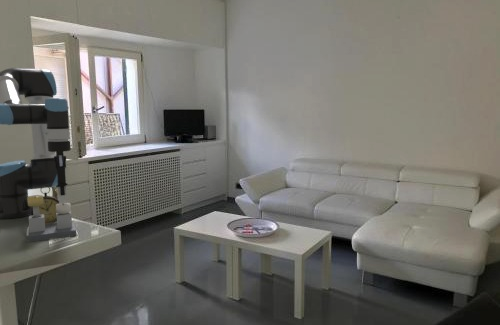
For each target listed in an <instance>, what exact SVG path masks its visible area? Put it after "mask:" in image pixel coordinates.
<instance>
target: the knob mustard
mask: <svg viewBox="0 0 500 325" xmlns="http://www.w3.org/2000/svg"><path fill="white" fill-rule="evenodd" d="M43 196H44V195H41V194H36V195H28V197H27V200H28V206H33V216H34V218H38V217H40V213H39V206H40V205H43Z"/></svg>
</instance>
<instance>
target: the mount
mask: <svg viewBox="0 0 500 325" xmlns="http://www.w3.org/2000/svg"><path fill="white" fill-rule="evenodd" d="M56 218H57V221H56V222H55V223H51V224H45V217H44V214H42V215H40V217H38V218H34V216H32V215H28V226H27V228H26V236H25V238H26V241H25V242H26V243H30V242H31V243H32V242H38V241H44V240H45V241H46V240H51V239H61V238H66V237H74V236H75V237H76V236H77V228H76V225H75V221H74V220H73V218H72V211H71V212H69V213H67V214H65V215H61V214H58V213H56Z"/></svg>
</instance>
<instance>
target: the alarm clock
mask: <svg viewBox="0 0 500 325" xmlns="http://www.w3.org/2000/svg"><path fill="white" fill-rule="evenodd" d="M43 187H45V186H43ZM43 187H42V188H40V192H41V194H43V195H42V196H43V205H40V206H39V213H40V215H42V214H44V217H45V224H51V223H57V218H56V204H59V198H57V197H54V196H52V195H51V196H50V195H47V194H49V193H50V192H51V188H50V187H48V186H46V187H48V192H43V191H42V189H44V188H43ZM31 213H32V214H31V216H33V206H32V209H31Z"/></svg>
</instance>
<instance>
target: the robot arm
mask: <svg viewBox="0 0 500 325" xmlns="http://www.w3.org/2000/svg"><path fill="white" fill-rule="evenodd" d="M57 92H58V91H57V83H56V79H55V76H54V74H53V73H52V71H51V70H49V69H42V68H18V67H10V68H5V69H3V70H1V71H0V125H7V126H12V125H13V126H14V125H30V128H31V137H32V138H31V139H32V146H33V148H32V149H33V156H32V157H31V159H30V162H29V163H27V162H26V161H25V160H14V161H8V162H5V163H4V162H3V163H0V219H1V220H6V219H17V218H23V217H29V216H31V215H32V213H31V209H32V206H28V200H27V197H29V191H28V190H38V189H41V188H42V187H43V186H45V187H43V188H42V189H46V188H48V187H49V188H50V189H51V188H55V187H56V188H57V194H58V195H57V196H58V200H59V204H65V203H68V195H67V186H68V182H67V180H66V179H67V178H66V177H67V176H66V168H67V163H66V161H67V155H64V152H69V151H71V150H72V149H71V141H70V139H71V134H70V133H71V132H70V131H71V130H70V123H69V122H70V120H69V119H70V118H69V106H68V105H69V104H68V100H67V99H66V98H62V97H54V96H57V94H58V93H57ZM21 95H22V96H24V101H27V103H23V101H22V98H21ZM46 186H48V187H46ZM49 188H48V189H49Z"/></svg>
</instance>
